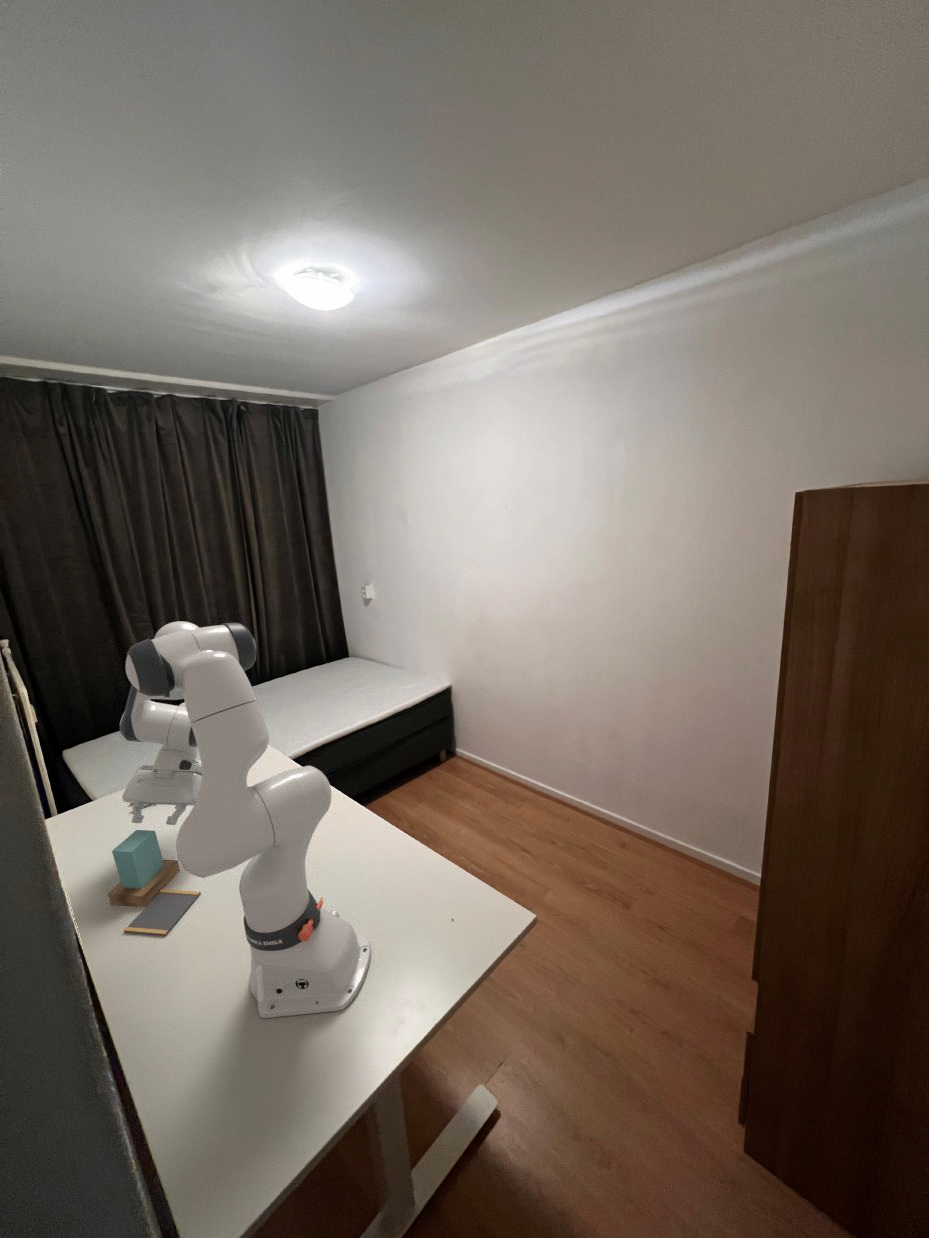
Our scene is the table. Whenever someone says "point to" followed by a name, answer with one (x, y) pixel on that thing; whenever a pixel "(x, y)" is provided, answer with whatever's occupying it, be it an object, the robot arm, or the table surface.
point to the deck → (148, 891)
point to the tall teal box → (138, 859)
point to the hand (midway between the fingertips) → (153, 823)
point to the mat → (163, 912)
